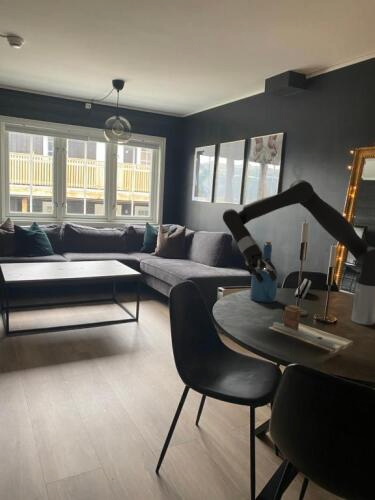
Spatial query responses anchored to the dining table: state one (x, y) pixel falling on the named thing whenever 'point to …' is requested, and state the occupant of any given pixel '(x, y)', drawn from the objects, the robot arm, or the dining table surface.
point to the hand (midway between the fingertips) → (268, 281)
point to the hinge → (304, 288)
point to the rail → (304, 335)
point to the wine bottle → (267, 288)
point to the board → (339, 341)
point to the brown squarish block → (292, 316)
